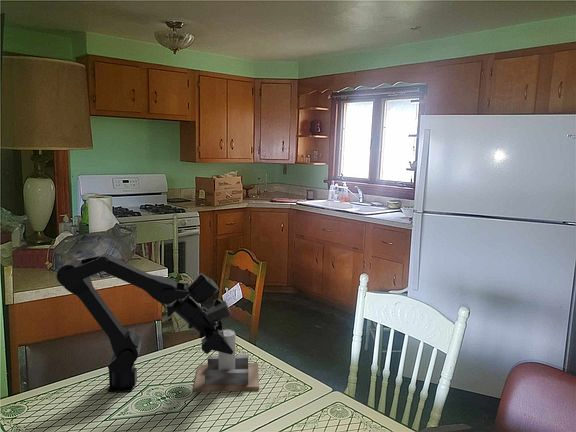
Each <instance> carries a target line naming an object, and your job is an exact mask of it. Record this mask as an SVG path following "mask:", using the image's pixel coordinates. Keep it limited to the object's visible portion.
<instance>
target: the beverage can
mask: <svg viewBox="0 0 576 432" xmlns="http://www.w3.org/2000/svg"><path fill="white" fill-rule="evenodd" d="M222 331H223V333H224V340H225V341H226V342H227V344H228V345H229V346H230V347H231V349H232V350H233V353H232V354H231V355H230V354H226V353H223V352H219V351H218V356H219V370H231V369H235V355H236V341H237V340H236V339H237V338H236V331H234V329H230V328H229V329H227V328H226V329H223V330H222ZM222 331H221V332H222Z"/></svg>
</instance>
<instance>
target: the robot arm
mask: <svg viewBox="0 0 576 432" xmlns="http://www.w3.org/2000/svg"><path fill="white" fill-rule="evenodd" d="M100 273H105V274H108V275H109V276H112V277H114V278H117V279H119V280H121V281H124V283H125V282H126V283H127V284H130V285H133V286H134V287H137V288H139V289H141V290H143V291H144V292H145V293H147V294H148V296H149V297H151V298H152V299H154V300H155V301H157V302H158V303H160V304H162V305H164V306H165V305H166V311H167V312H166V313H167V314H166V316H167V317H171V316H172V315H173V314H174V313H175V314H176V315H177V316H179V318H180V319H182V320H183V321H184V322H185V323H186V324H187V327H188V329H190V330H191V329H193V330H194V331H195V332H196V333H197V334H198V337H199V338H200V339H201V350H202V352H203V353H205V354H206V355H208V354H210V352H212V351H214V352H218V353H219V352H223V353H226V354H230V355H231V354H232V353H233V350H232V349H231V347H230V346H229V345H228V344H227V342H226V341H225V340H224V333H223V331H222V330H224V329H223V321H222V320H223V319H225V318H226V319H227V318H228V317H230V316H231V310H230V308H229V306H228V303H227V301H225V300H221V299H220V298H216V299H214V300H213V305H211V307H210V308H208V309H207V308H206V307H205V306H202V307H201V305H202V304H205V303H206V302H207V301H209V299H211V298H212V297H213V296H214V295H215V293H217V292H218V291H219V290H220V288H219V286H218V284H216V282H215V281H214V280H213V279H212V278H211V277H208V276H207V275H205V274H204V273H203V272H199V274H198V275H197V276H196V278H195V279H194V280H192V281H191V283H186V282H179V281H178V282H177V280H175V279H173V278H169V277H166V276H163V275H155V274H150V273H149V272H146V271H144V270H141V269H139V268H138V267H135V266H133V265H130V264H128V263H126V262H123V261H122V260H119V259H117V258H115V257H113V256H111V254H109V253H102V254H100V255H97V256H96V255H95V256H91V257H87V258H84V259H70V260H68V261H66V262H65V263H64V264H63V265H62V266H60V268H58V270H57V272H56V280H57V282H58V283H59V285H61V286H62V287H63V288H64V289H65V290H66V291H68V293H71V294H72V295H74V296H76V297H78V299H79V301H81V303H82V304H83V305H84V307H85V308H86V310H87V311H88V312H89V314H90V315H91V316H92V317H93V319H94V320H95V322H96V323H97V324H98V325H99V327H100V329H101V330H102V331H103V333H104V334H105V335H106V336H107V337H108V340H109V343H110V346H111V350H112V355H111V357H110V360H109V363H108V365H107V369H108V381H109V382H108V383H109V386H108V388H107V389H106V391H107V393H110V392H111V393H112V392H113V393H117V392H120V393H121V392H131V391H133V389H134V387H135V386H136V384H137V383H138V368H137V367H135V363H136V361H137V359H138V357H139V354H140V350H141V347H142V346H141V345H142V342H141V336H140V335H138V333H137V332H136V330H135V329H134V327H133V326H131V328H129V329H127V328H125V327H124V326H123V325H122V324H121V322H120V321H119V320H118V319H117V317H116V316H115V314H114V313H113V312H112V310H111V308H110V307H109V306H108V305H107V303H106V302H105V301H104V299H103V297H101V295H100V294H99V292H98V291H97V290H96V288H95V287H94V285H93V281H92V279H91V278H92V277H91V276H94V275H97V274H100ZM199 304H201V305H199ZM221 331H222V332H221Z"/></svg>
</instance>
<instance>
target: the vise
mask: <svg viewBox="0 0 576 432" xmlns="http://www.w3.org/2000/svg"><path fill="white" fill-rule="evenodd" d="M197 366H198V367H197V369H196V370H197V371H196V375H195V379H194V386H193V393H195V392H197V393H198V392H199V393H200V392H229V391H231V392H233V391H234V392H235V391H238V392H239V391H260V379H259V378H260V377H259V376H260V375H259V374H260V373H259V363H255V362H254V363H249V354H237V355H236V354H235V369H231V370H219V355H207V363H206V364H204V363H203V364H198V365H197Z"/></svg>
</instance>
